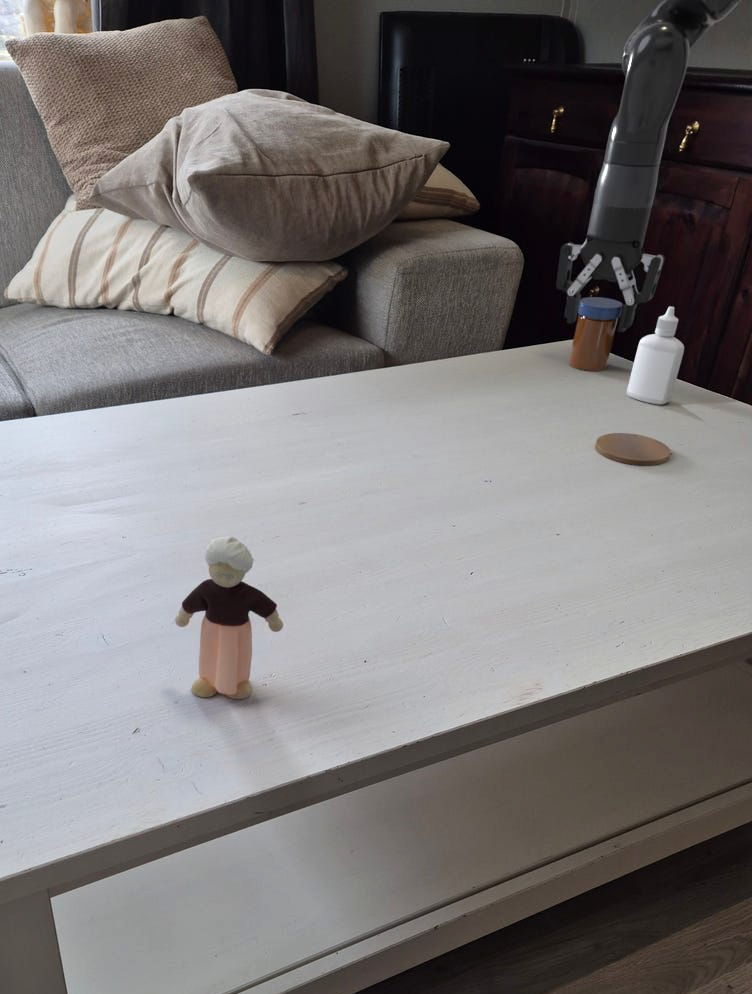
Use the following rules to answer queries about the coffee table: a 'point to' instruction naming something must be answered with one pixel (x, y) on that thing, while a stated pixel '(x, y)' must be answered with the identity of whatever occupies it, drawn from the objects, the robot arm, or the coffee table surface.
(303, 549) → the coffee table surface
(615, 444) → the coaster
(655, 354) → the eye dropper bottle
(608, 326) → the jar
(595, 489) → the coffee table surface
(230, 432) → the coffee table surface
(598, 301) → the lid
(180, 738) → the coffee table surface
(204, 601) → the grandmother figurine
